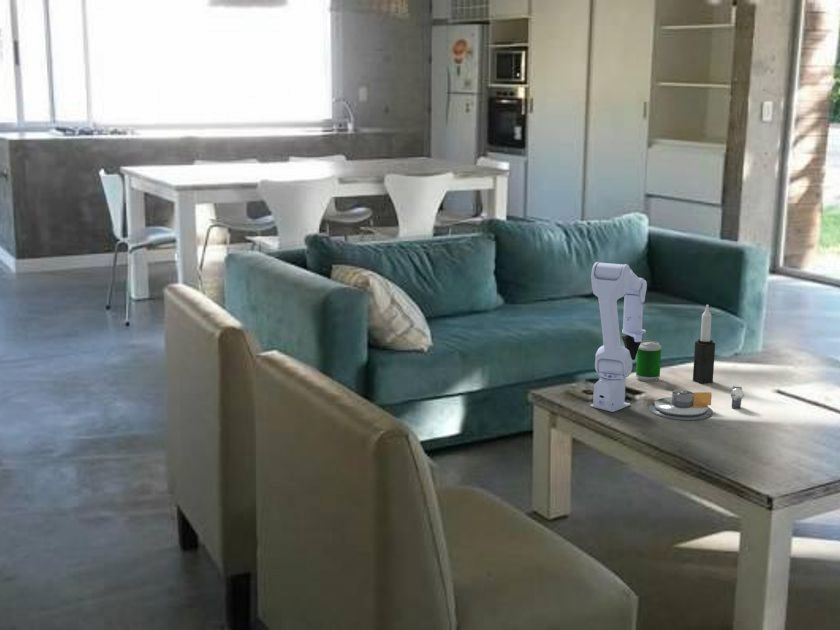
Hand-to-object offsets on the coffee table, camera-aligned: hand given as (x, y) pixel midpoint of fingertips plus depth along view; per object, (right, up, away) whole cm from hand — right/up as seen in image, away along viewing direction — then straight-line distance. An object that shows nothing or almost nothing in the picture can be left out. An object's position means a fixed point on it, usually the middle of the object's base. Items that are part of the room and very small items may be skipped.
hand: (631, 359), depth 324 cm
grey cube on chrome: (+28, -13, -15) cm, 34 cm away
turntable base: (+11, -14, -18) cm, 25 cm away
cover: (+11, -12, -18) cm, 25 cm away
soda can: (+8, -7, +15) cm, 18 cm away
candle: (+25, -8, +12) cm, 29 cm away
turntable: (+11, -14, -18) cm, 25 cm away
